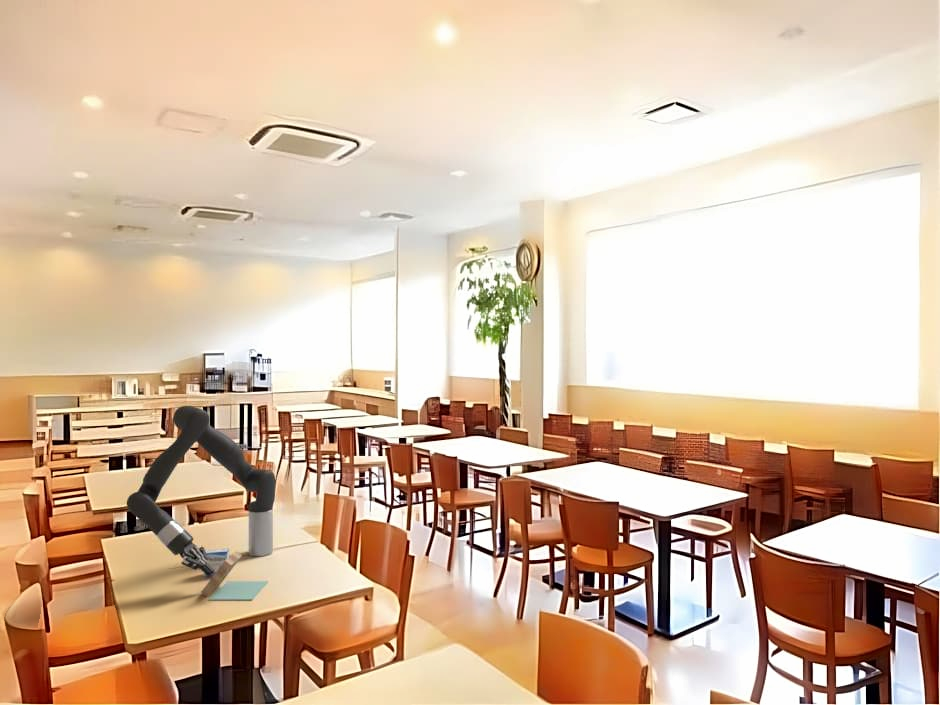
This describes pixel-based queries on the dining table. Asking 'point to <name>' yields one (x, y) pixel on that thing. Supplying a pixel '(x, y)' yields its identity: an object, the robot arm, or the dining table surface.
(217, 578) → the wooden block
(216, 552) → the medicine box
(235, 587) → the mat
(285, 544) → the dining table surface
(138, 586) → the dining table surface
